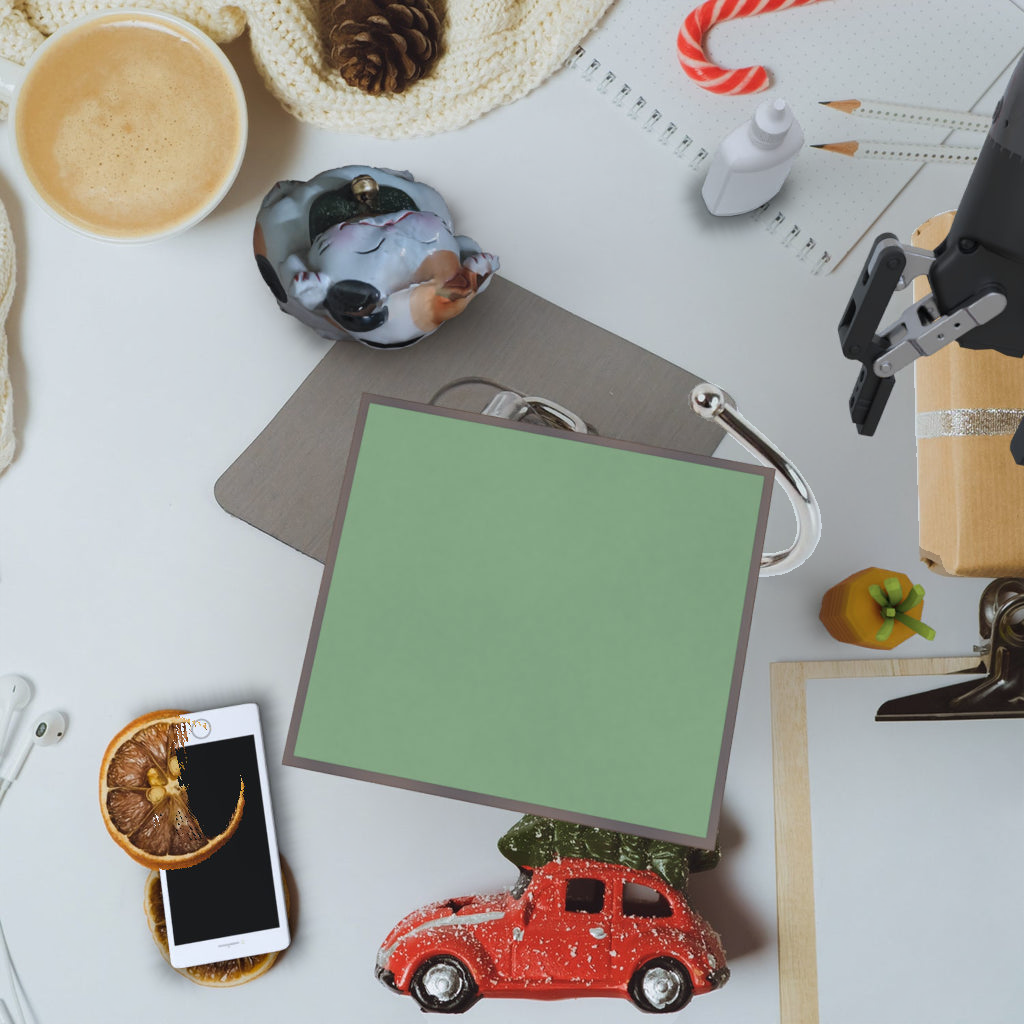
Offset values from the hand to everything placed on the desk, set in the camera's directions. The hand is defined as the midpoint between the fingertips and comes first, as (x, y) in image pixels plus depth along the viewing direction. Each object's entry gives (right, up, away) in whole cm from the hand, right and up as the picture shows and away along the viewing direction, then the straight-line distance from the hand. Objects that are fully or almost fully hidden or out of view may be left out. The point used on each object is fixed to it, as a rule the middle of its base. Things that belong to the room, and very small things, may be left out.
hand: (941, 443), depth 56 cm
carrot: (-1, -11, +15) cm, 18 cm away
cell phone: (-43, -25, +13) cm, 51 cm away
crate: (-22, -12, +15) cm, 29 cm away
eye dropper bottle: (-7, +19, +19) cm, 28 cm away
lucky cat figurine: (-32, +13, +19) cm, 40 cm away
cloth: (-22, -8, -13) cm, 27 cm away
